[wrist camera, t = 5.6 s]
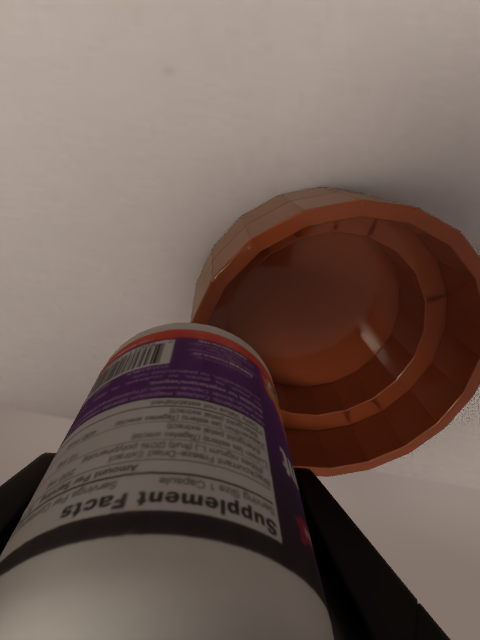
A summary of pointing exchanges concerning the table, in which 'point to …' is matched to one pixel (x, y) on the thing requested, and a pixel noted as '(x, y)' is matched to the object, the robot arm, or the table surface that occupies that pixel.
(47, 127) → the table surface
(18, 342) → the table surface
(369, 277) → the bowl
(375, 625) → the robot arm
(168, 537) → the pill bottle
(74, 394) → the table surface
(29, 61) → the table surface
